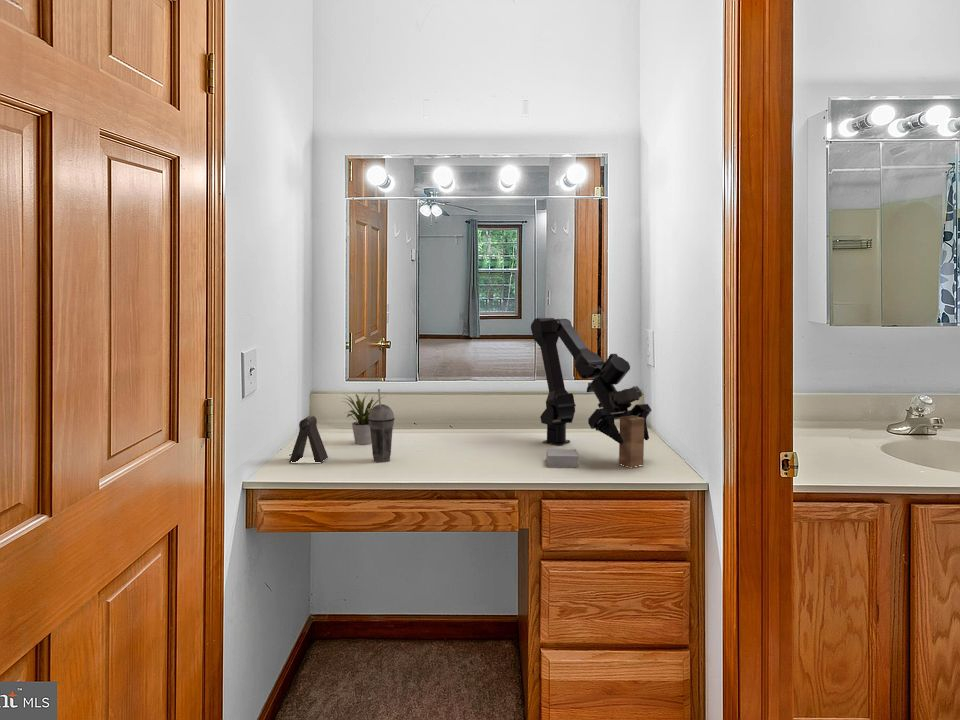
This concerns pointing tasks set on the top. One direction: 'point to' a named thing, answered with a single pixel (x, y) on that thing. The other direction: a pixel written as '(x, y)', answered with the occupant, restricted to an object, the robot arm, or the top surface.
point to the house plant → (361, 421)
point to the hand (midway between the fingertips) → (635, 441)
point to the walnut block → (631, 441)
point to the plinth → (562, 458)
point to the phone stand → (314, 441)
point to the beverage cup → (381, 431)
